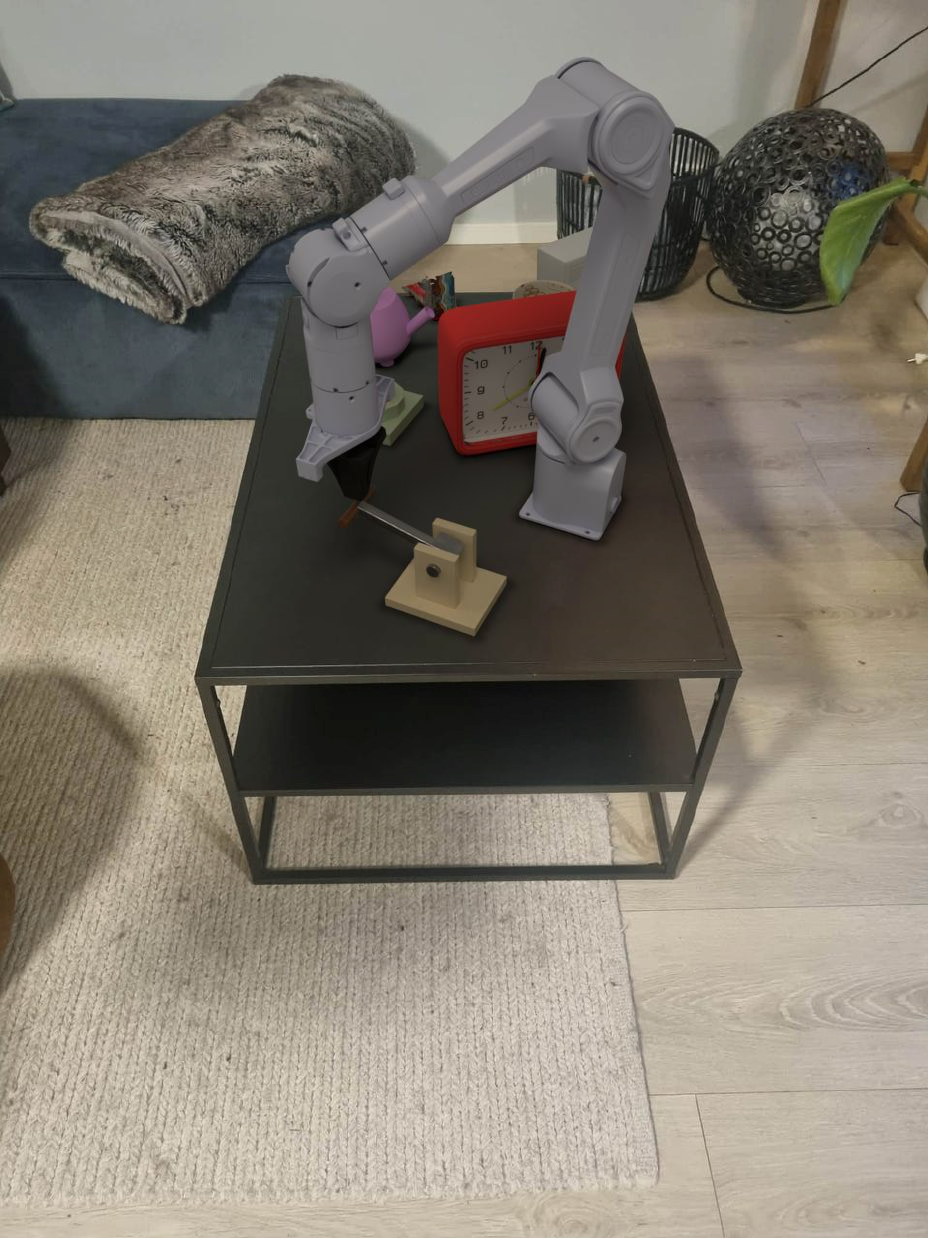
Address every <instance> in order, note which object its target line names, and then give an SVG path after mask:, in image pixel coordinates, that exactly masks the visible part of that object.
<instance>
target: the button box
mask: <svg viewBox="0 0 928 1238" xmlns="http://www.w3.org/2000/svg"><path fill="white" fill-rule="evenodd" d="M424 403H425V402H424V395H422V394H418V393H415V392H411V391H408V390H404V388H403V387H402V386H401V385H399V384H398V383H397V382H395V397H394V398H393V399H392V400H390V401H389V402H387V404H386V408H385V412H384V416H383V420H382V424H381V426H383V427H384V428H385V429H386V438H385V440H384V442H383V443H382V445H385V446H389V447H391V446H392V445H393V443H395V441H396V440H397V439H398V438H399V436H400V435H401V434H402V433H403V432H404V431H405V429H406V428H407V427H408V426H409V425H410V424H411V422H413V420H414V419H415V418H416V416H417V415H418V414H419V413H420V412H421V410H422V409H423V408H424V405H425V404H424Z"/></svg>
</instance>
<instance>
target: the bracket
mask: <svg viewBox="0 0 928 1238" xmlns="http://www.w3.org/2000/svg"><path fill="white" fill-rule="evenodd" d="M440 532H442V533H444V534H446V535H448V536H450V537H452V538H454V539H456V540H458V541H460V542H462V543H463V544H465V548H464V551H463V554H462V557H461V559H460V561H459V555H456V554H453V553H449V552H446V551H443V550H440V549H437V548H434V547H431V546H428V545H425V544H422V543H419V542H418V543H417V545H415V546H414V547H413V558H412V559H411V561H410V562H409V563H408V565H407V566H406V567H405V569H404V570H403V572H402V573H401V575H400V576H399V578H398V579H397V580H396V581H395V583H394V584H393V586H392V587H391V589H390V590H389V591H388V592H387V594H386V595H385V597H384V601H385V604H384V605H385V606H386V607H389V608H392V609H395V610H396V611H397V610H398V611H401V612H403V613H406V614H409V615H412V616H415V617H418V618H420V619H423V620H426V621H429V622H432V623H434V624H438V625H440V626H443V627H446V628H449V629H452V630H454V631H457V632H460V633H463V634H466V635H468V636H471V637H475V636H477V633H478V632H479V630H480V629H481V627H482V625H483V623H484V622H485V620H486V619H487V617H488V616H489V614H490V613H491V611H492V609H493V607H494V606H495V604H496V603H497V601H498V599H499V598H500V596H501V594H502V593H503V591H504V590H505V588H506V586H507V582H508V581H507V580H508V576H507V575H503V574H501V573H496V572H494V571H490V570H487V569H485V568H481V567H478V566H477V546H478V545H477V538H478V537H477V535H478V531H477V529H474V528H472V527H468V526H465V525H462V524H459V523H456V522H452V521H450V520H446V519H442V518H440V517H436V518H435V519H434V521H433V522H432V538H434V539H436V537H437V536H438V535H439V533H440Z"/></svg>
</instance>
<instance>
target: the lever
mask: <svg viewBox="0 0 928 1238" xmlns="http://www.w3.org/2000/svg"><path fill="white" fill-rule="evenodd" d="M376 493H377V487H376V486H375V485H373V484H370V488H369V492H368V495H367V496H366V497H365V498H364V500H363V501H362V502H360V501H356V500H353V502H352V503H351V504H350V505H349V506H348V508H347V509H346V510H345V511H344V513H343V514H342V515H341V517H340V518H339V519H338V520H337V525H338V526H339V528H341V529H343V530H345V529H347V528H348V527H349V526H350V525H351V524H352V522H353V521H354V520H355V518H356V517H357V516H360V517H362V518H364V519H366V520H367V521H369V522H370V523H373V524H375V525H377V526H379V527H381V528H383V529H385V530H386V531H388V532H390V533H393V534H394V535H396V536H398V537H400V538H403V540H406V541H408V542H410V543H411V544H413V545H415V546H416V545H417V543H418V542H419V543H422V544H425V545H428V546H431V547H434V548H437V549H440V550H443V551H446V552H449V553H453V554H456V555H459V561H460V559H461V557H462V554H463V551H464V548H465V544H463V543H462V542H460V541H458V540H456V539H454V538H452V537H450V536H448V535H446V534H444V533H442V532H440V533H439V535H438V536H437V537H436V539H434V538H433V536H430V535H429V534H426V533H425V532H423V531H421V530H420V529H418V528H415V527H413V526H411V525H410V524H408V523H406V522H404V521H402V520H400V519H398V518H396V517H395V516H393V515H390V514H389V513H386V512H385V511H383V510H381V509H380V508H377V507H376V506H373V505H372V504H369V501H370V500H371V499H372V498H373V497H374V495H375V494H376Z"/></svg>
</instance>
